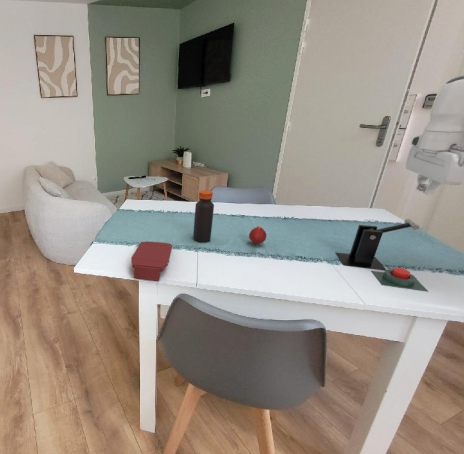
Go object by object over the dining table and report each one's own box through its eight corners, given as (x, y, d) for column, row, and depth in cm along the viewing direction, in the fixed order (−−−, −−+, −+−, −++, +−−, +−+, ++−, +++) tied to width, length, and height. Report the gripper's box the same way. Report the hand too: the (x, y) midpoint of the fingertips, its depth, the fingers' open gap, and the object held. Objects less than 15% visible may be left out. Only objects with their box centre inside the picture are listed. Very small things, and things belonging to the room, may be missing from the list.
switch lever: (411, 223, 88) (409, 216, 88) (420, 230, 84) (418, 223, 84) (361, 235, 94) (359, 228, 94) (367, 241, 90) (365, 234, 90)
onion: (249, 240, 115) (252, 221, 112) (265, 243, 112) (269, 224, 109) (246, 245, 111) (249, 226, 108) (263, 249, 108) (266, 229, 105)
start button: (404, 273, 85) (406, 268, 84) (411, 280, 82) (413, 275, 81) (388, 271, 86) (390, 266, 85) (394, 278, 83) (396, 273, 82)
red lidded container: (141, 252, 118) (127, 276, 95) (141, 240, 117) (128, 262, 94) (171, 255, 114) (165, 281, 91) (172, 243, 113) (166, 267, 90)
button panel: (411, 279, 87) (415, 270, 85) (426, 294, 80) (431, 285, 79) (369, 273, 90) (372, 265, 89) (380, 288, 83) (384, 279, 82)
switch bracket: (374, 259, 97) (386, 224, 92) (386, 273, 90) (400, 236, 85) (334, 255, 101) (344, 221, 96) (342, 268, 94) (354, 232, 89)
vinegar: (191, 236, 122) (194, 189, 114) (207, 235, 121) (212, 189, 113) (195, 243, 115) (199, 194, 107) (212, 242, 115) (217, 194, 107)
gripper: (489, 147, 67) (463, 204, 73) (437, 137, 84) (419, 183, 90) (452, 147, 69) (430, 202, 75) (409, 137, 87) (393, 182, 92)
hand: (424, 192), depth 82 cm, fingers closed
